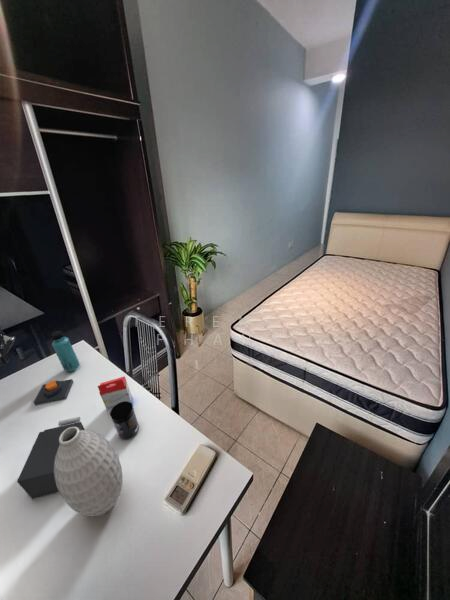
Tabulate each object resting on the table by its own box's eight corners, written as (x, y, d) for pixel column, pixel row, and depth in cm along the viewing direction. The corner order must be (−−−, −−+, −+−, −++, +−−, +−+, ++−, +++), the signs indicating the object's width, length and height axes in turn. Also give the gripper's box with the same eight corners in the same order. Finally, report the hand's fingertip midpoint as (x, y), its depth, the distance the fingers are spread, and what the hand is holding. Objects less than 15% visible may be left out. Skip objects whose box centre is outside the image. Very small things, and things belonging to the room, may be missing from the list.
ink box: (132, 397, 95) (123, 369, 88) (133, 407, 91) (123, 379, 84) (109, 405, 92) (97, 376, 85) (108, 416, 88) (96, 387, 81)
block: (35, 405, 94) (31, 399, 92) (44, 387, 101) (41, 381, 100) (66, 399, 96) (63, 392, 94) (73, 381, 103) (70, 375, 102)
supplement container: (122, 421, 86) (115, 401, 81) (142, 421, 85) (135, 400, 80) (115, 441, 80) (106, 420, 75) (135, 440, 80) (128, 419, 75)
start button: (45, 392, 95) (43, 389, 94) (49, 385, 98) (47, 382, 97) (55, 390, 96) (53, 387, 95) (58, 383, 99) (57, 380, 98)
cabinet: (51, 450, 78) (39, 432, 74) (90, 440, 80) (81, 422, 76) (32, 499, 66) (16, 481, 62) (78, 486, 68) (66, 468, 64)
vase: (115, 463, 73) (85, 399, 60) (140, 494, 66) (112, 429, 53) (71, 504, 65) (24, 439, 51) (93, 544, 58) (46, 481, 44)
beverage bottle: (79, 361, 114) (63, 326, 105) (82, 369, 110) (66, 333, 100) (63, 368, 111) (45, 332, 101) (66, 376, 106) (48, 339, 97)
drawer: (58, 431, 83) (49, 417, 79) (91, 424, 84) (84, 410, 81) (36, 487, 68) (25, 473, 65) (77, 476, 70) (68, 462, 66)
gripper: (9, 310, 78) (31, 353, 86) (-39, 317, 76) (-12, 360, 84) (-4, 323, 72) (21, 367, 80) (-58, 330, 69) (-27, 375, 77)
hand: (4, 363), depth 82 cm, fingers closed
